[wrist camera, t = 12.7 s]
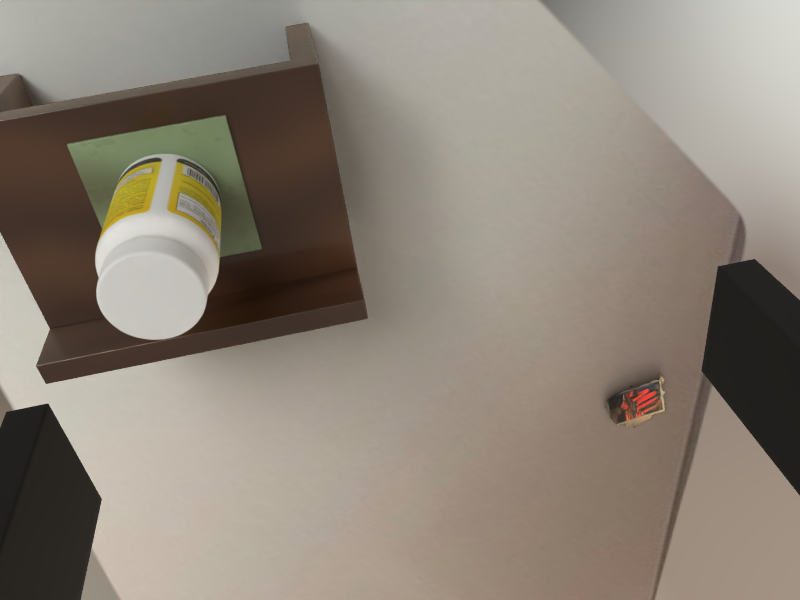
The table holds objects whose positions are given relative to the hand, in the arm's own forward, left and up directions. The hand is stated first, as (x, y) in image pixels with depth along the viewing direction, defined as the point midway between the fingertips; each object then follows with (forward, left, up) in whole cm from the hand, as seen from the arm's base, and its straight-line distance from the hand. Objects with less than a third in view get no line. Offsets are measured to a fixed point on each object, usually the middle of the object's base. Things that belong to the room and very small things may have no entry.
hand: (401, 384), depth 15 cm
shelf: (+6, -8, -29) cm, 30 cm away
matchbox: (+33, +20, -29) cm, 48 cm away
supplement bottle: (+5, -8, -22) cm, 23 cm away
